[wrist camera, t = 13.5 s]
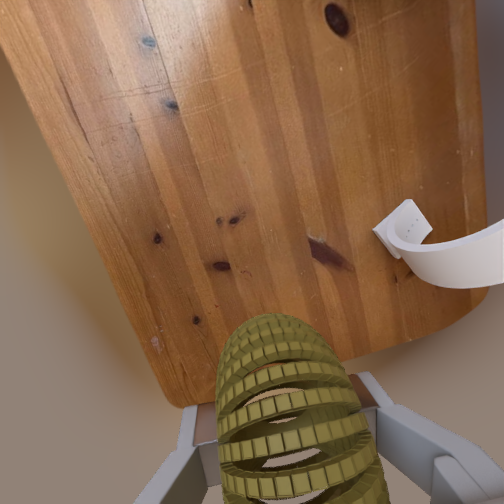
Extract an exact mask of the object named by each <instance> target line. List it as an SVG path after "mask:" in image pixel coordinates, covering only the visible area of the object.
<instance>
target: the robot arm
mask: <svg viewBox="0 0 504 504" xmlns="http://www.w3.org/2000/svg"><path fill="white" fill-rule="evenodd" d="M348 377H349V379H350V381H351V383H352V385H353V388H354V390H353V391H355V392H356V394H357V396H358V398H359V401H360V403H361V407H362V408H361V410H360V411H359V412H358V413H360V412H364V413H365V416H366V418H367V421H368V424H369V426H370V427H368V430H369V431H371V433H372V435H373V438H374V441H375V444H376V447H377V452H378V453H379V454H381V455H382V456H383V457H384V458H385V459H387V460H388V461H389V462H390V463H391V464H393V465H394V466H395V467H396V468H397V469H398V470H400V471H401V472H402V473H403V474H404V475H406V476H407V477H408V478H409V479H410V480H412V481H413V482H414V483H415V484H417V485H418V486H419V487H420V488H421V489H422V490H423V491H425V492H426V493H427V494H428V495H429V496H431V501H430V504H504V470H503V469H502V468H501V467H500V466H499V465H498V464H497V463H496V462H495V461H494V460H493V459H492V458H490V456H489V455H488V454H487V453H486V452H485V451H484V450H483V449H482V448H481V447H480V446H478V445H476V444H474V443H472V442H471V441H469V440H467V439H465V438H463V437H461V436H459V435H457V434H456V433H454V432H452V431H450V430H448V429H446V428H444V427H442V426H440V425H438V424H437V423H435V422H433V421H431V420H429V419H427V418H425V417H423V416H422V415H420V414H418V413H416V412H414V411H412V410H410V409H408V408H407V407H405V406H403V405H401V404H395V403H394V402H393V401H392V399H391V398H390V397H389V396H388V394H387V393H386V392H385V391H384V389H383V388H382V387H381V386H380V384H379V383H378V382H377V381H376V380H375V378H374V377H373V376H372V374H371V373H370V372H368V371H365V372H360V373H355V374H351V375H348ZM355 392H354V393H355ZM356 413H357V412H356ZM216 418H217V414H216V401H214V402H208V403H202V404H199V405H193V406H186V407H185V408H184V410H183V415H182V421H181V426H180V431H179V437H178V443H177V449H176V451H172V452H171V453H170V454H169V456H168V457H167V459H166V460H165V461H164V463H163V464H162V465H161V467H160V468H159V470H158V471H157V472H156V473H155V475H154V476H153V477H152V479H151V480H150V481H149V483H148V484H147V485H146V487H145V488H144V489H143V491H142V492H141V493H140V495H139V496H138V497H137V499H136V500H135V501H134V503H133V504H201V503H202V501H203V499H204V497H205V494H206V493H207V490H208V488H207V487H211V486H215V485H219V484H222V481H221V479H222V477H220V471H221V468H219V465H220V461H219V460H220V458H218V450H219V445H220V444H219V443H218V442H217V437H218V433H217V431H216V428H217V425H216Z"/></svg>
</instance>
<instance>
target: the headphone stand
mask: <svg viewBox="0 0 504 504" xmlns="http://www.w3.org/2000/svg"><path fill="white" fill-rule="evenodd" d="M432 230H433V229H432V227H431V226H430V225H429V223H428V222H427V220H426V219H425V217H424V216H423V215H422V213H421V212H420V210H419V209H418V207H417V206H416V205H415V203H414V202H413V200H412V199H406V200H405V201H404V202H403V203H402V204H401V205H399V206H398V207H397V208H396V209H395V210H394V211H393V212H392V213H391V214H389V215H388V216H387V217H386V218H385V219H384V220H383V221H382V222H381V223H379V224H378V225H377V226H376V227H375V228H374V229H373V231H374V233H375V234H376V235H377V237H378V238H379V239H380V240H381V242H382V243H383V244H384V245H385V247H386V248H387V249H388V250H389V252H390V253H391V254H392V256H393V257H394V258H397V259H399V258H400V257H402V258H403V259H404V260H405V262H406V263H407V264H408V266H409V267H410V268H411V269H412V271H413V272H414V273H415V274H416V275H417V276H418V277H419V278H421V279H422V280H424V281H426V282H428V283H430V284H433V285H437V286H442V287H448V288H476V287H484V286H490V285H495V284H499V283H503V282H504V219H502V220H501V221H499V222H497V223H496V224H494V225H492V226H490V227H488V228H486V229H484V230H481V231H479V232H477V233H474V234H472V235H469V236H466V237H463V238H460V239H457V240H453V241H449V242H444V243H438V244H429V245H420V244H421V242H422V241H423V239H424V238H425V237H426V236H427V235H428V233H429V232H430V231H432Z"/></svg>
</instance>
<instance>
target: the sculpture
mask: <svg viewBox="0 0 504 504" xmlns="http://www.w3.org/2000/svg"><path fill="white" fill-rule="evenodd" d="M227 342H228V343H225V346H224V348H223V351H222V353H221V355H220V360H219V364H218V368H217V378H216V398H215V399H216V414H217V418H216V425H217V428H216V431H217V433H218V437H217V442H218V443H219V444H220V445H219V450H218V458H220V460H219V461H220V465H219V468H221V471H220V477H222V479H221V481H222V485H223V486H222V487H223V488H222V489H223V490H222V493H224V495H223V500H224V501H225V502H226V503H225V502H224V504H265V502H264V503H263V502H262V501H261V500H260V501H261V502H260V501H259V499H261V498H263V499H265V500H267V499H268V500H278V498H279V499H280V500H281V499H284V498H286V499H287V498H288V499H289V498H290V497H291V498H295V497H298V495H300V496H302V494H303V495H304V494H308V493H311V492H312V491H313V492H314V491H318V490H322V489H325V492H324V491H323V492H324V493H323V492H322V493H320V494H321V495H320V494H319V495H318V496H316V497H314V498H315V499H314V498H313V499H311V501H310V500H309V502H308V501H306V502H305V503H304V504H391V503H390V501H389V493H387V491H388V488H386V486H387V483H386V481H385V479H384V472H383V471H382V470H383V467H381V466H382V464H381V460H380V458H379V456H377V455H378V452H377V447H376V444H375V441H374V438H373V435H372V433H371V431H369V430H368V427H370V426H369V424H368V421H367V418H366V416H365V413H364V412H360V413H358V412H359V411H360V410H361V408H362V407H361V403H360V401H359V398H358V396H357V394H356V392H355V391H353V390H354V388H353V385H352V383H351V381H350V379H349V377H348V375H347V374H346V373H345V371H344V370H345V369H344V367H343V366H342V364H340V363H341V362H340V361H339V360H338V357H337V356H336V354H334V351H333V350H332V348H331V347H330V346H329V344H328V343H327V342H326V341H325V339H324V338H322V337H321V335H320V334H319V333H318V332H317V331H316V330H315V329H313V328H312V326H310V325H308V324H307V323H305V322H304V321H302V320H300V319H298V318H295V317H293V316H292V317H291V315H285V314H282V313H273V314H272V313H269V314H267V315H266V314H264V316H263V314H261V315H259V316H256V317H255V318H254V317H253V318H251V320H250V319H249V320H248V321H247V323H246V321H245V322H244V324H243V325H241V326H240V327H239V328H238V327H237V329H236V330H235V331H234V332H233V334H231V335H230V337H229V339H228V341H227ZM258 347H259V348H258ZM274 362H275V363H278V362H280V363H286V364H287V365H286V364H282V365H280V364H279V365H280V366H279V365H276V366H272V367H270V368H269V367H267V368H264V369H263V370H261V369H260V370H258V371H256V372H253V374H252V373H251V372H252V371H254V370H255V368H256V369H257V368H259V367H261V366H265V364H266V365H267V364H268V363H269V364H270V363H271V364H273V363H274ZM248 373H251V374H250V375H249V376H247V375H248ZM284 376H285V377H284ZM244 377H245V378H244ZM279 384H280V385H279ZM284 387H286V388H287V387H290V388H298V389H300V388H301V389H303V390H304V389H305V390H304V391H302V390H301V391H302V392H301V391H297V392H292V393H285V394H282V395H277V396H276V395H275V396H272V397H271V396H270V397H266V398H265V399H264V398H263V399H260V400H259V401H255V402H256V403H255V402H254V403H252V404H251V403H250V404H248V405H247V406H245V407H242V406H244V404H246V403H247V402H248V401H249V400H251V399H252V398H254V396H258V394H260V393H261V394H262V393H265V391H270V390H275V389H277V388H278V389H280V388H284ZM354 392H355V393H354ZM288 394H289V395H288ZM290 403H292V404H290ZM291 407H293V408H291ZM278 409H279V410H278ZM356 412H357V413H356ZM295 416H296V417H297V418H296V419H294V420H290V421H288V422H282V423H278V424H277V423H269V422H271V421H272V422H273V421H277V420H282V419H283V418H284V419H285V418H288V417H289V418H291V417H295ZM309 448H310V449H312V448H316V449H320V450H321V451H322V452H321V451H320V452H319V454H317V455H316V454H315V455H314V456H312V457H311V458H310V457H309V459H308V458H307V459H304V460H302V461H301V462H300V461H299V462H298V463H297V462H296V463H295V464H294V463H293V464H291V465H290V464H288V465H287V466H286V465H285V466H284V465H283V466H282V467H281V466H277V467H275V468H272V467H262V466H263V465H264V464H265V463H266V462H267V460H268V459H269V458H270V459H271V458H274V457H275V458H276V457H277V458H278V456H279V457H282V456H283V455H284V456H286V455H289V454H292V453H293V454H294V453H297V452H299V451H300V452H301V451H304V450H306V449H307V450H308V449H309ZM329 460H330V461H329ZM297 466H298V467H297ZM308 473H309V475H307V474H308ZM292 474H293V475H292ZM293 480H294V481H293ZM328 483H329V484H328ZM328 485H329V486H330V487H329V486H328ZM326 486H327V487H326ZM322 487H325V488H322ZM319 488H321V489H319ZM327 488H328V489H327ZM326 489H327V490H326ZM339 496H340V497H339ZM334 500H335V501H334ZM301 504H303V503H301Z"/></svg>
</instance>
